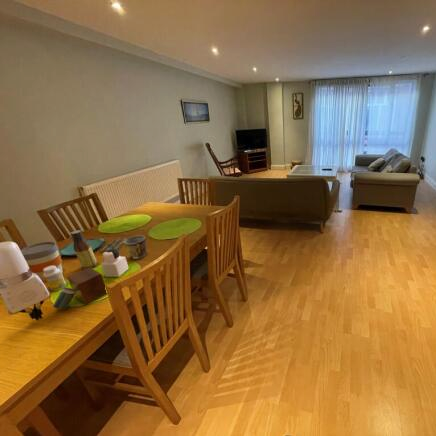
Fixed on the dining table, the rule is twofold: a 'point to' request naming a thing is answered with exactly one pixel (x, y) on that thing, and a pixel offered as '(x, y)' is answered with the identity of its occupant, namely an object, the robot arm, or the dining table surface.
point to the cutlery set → (92, 242)
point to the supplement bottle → (53, 278)
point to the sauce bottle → (83, 250)
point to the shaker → (64, 298)
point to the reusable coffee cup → (42, 257)
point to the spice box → (87, 285)
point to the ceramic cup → (136, 246)
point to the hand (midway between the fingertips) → (38, 317)
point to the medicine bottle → (113, 263)
